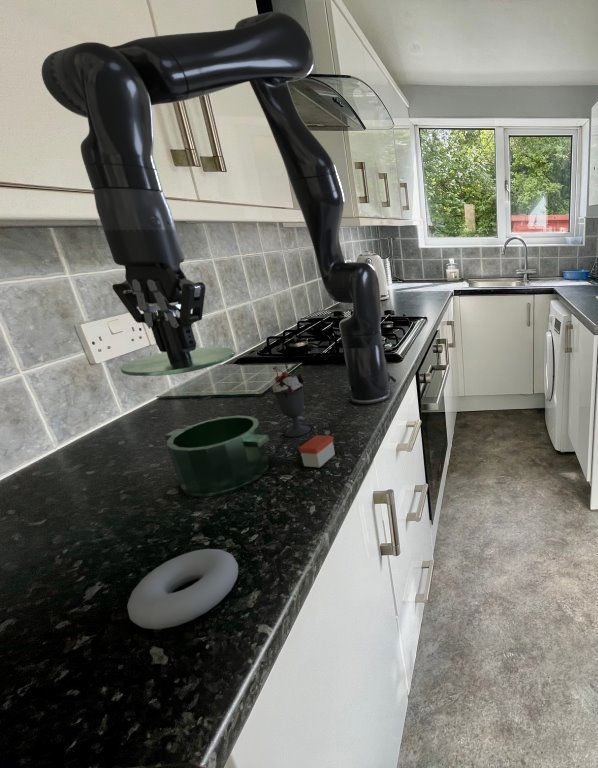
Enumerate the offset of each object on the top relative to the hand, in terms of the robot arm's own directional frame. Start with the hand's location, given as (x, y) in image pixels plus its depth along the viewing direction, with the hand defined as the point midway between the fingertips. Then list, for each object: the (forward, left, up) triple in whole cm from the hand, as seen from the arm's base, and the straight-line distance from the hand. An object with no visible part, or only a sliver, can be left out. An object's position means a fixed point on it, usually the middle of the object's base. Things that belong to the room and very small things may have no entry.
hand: (178, 350), depth 61 cm
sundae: (-19, +1, -23) cm, 30 cm away
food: (-9, +13, -23) cm, 28 cm away
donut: (+21, +17, -23) cm, 35 cm away
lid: (0, 0, -2) cm, 2 cm away
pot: (-2, 0, -23) cm, 23 cm away
